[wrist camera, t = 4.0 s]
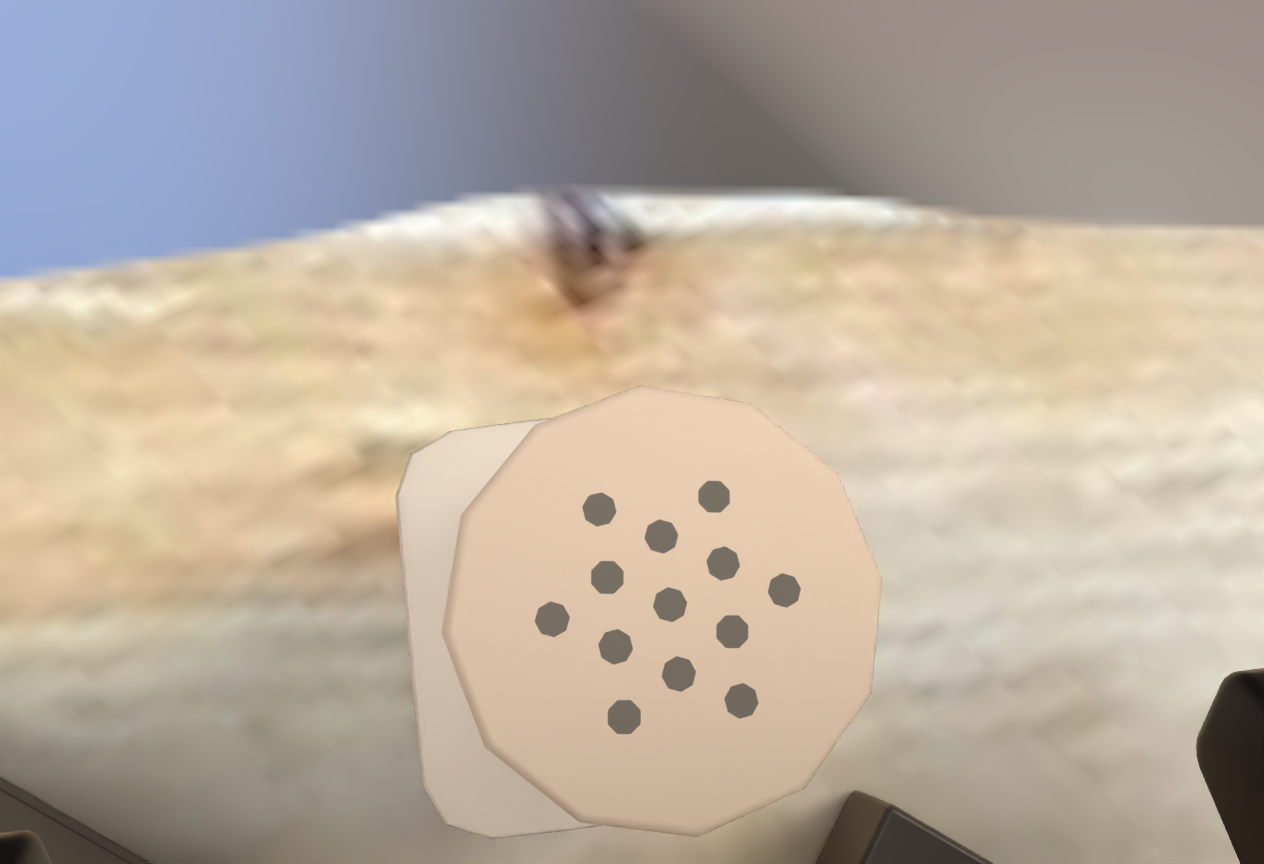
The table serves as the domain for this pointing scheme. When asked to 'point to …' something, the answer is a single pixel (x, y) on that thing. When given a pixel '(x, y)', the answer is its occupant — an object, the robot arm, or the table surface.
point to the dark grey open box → (58, 831)
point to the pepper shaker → (630, 616)
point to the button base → (888, 837)
